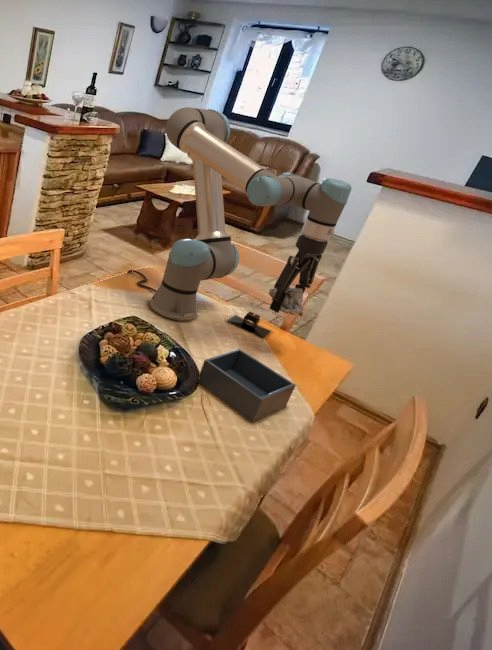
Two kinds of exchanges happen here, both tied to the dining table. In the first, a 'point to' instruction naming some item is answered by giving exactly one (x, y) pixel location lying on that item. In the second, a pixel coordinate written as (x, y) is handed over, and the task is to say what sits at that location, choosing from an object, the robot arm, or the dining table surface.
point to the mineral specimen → (291, 301)
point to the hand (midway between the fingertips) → (283, 307)
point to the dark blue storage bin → (246, 384)
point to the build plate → (250, 324)
